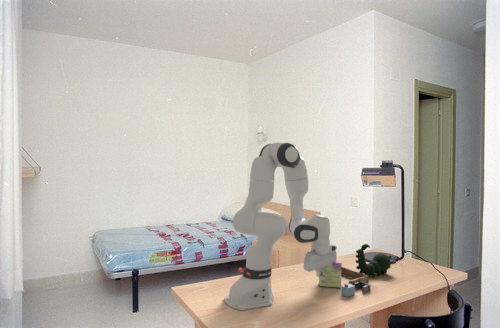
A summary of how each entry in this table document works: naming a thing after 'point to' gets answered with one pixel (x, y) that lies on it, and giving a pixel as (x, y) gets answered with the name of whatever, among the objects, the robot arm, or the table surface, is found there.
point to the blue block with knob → (348, 290)
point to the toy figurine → (372, 263)
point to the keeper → (362, 286)
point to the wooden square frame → (354, 276)
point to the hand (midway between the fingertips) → (319, 276)
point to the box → (331, 275)
